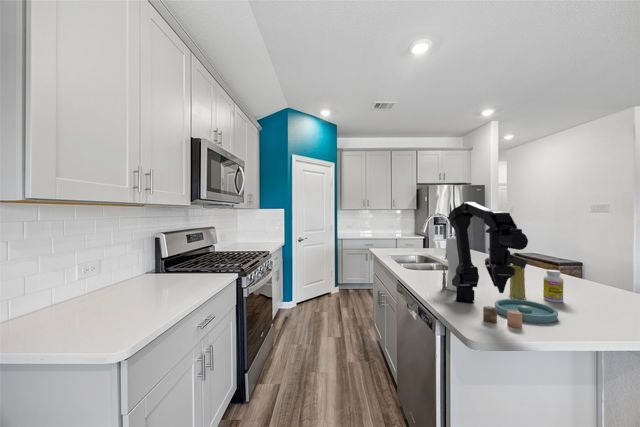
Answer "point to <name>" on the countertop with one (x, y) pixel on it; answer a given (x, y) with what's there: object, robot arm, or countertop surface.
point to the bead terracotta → (514, 319)
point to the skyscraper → (450, 263)
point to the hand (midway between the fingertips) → (498, 289)
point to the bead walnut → (490, 314)
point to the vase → (517, 283)
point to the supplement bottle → (553, 286)
